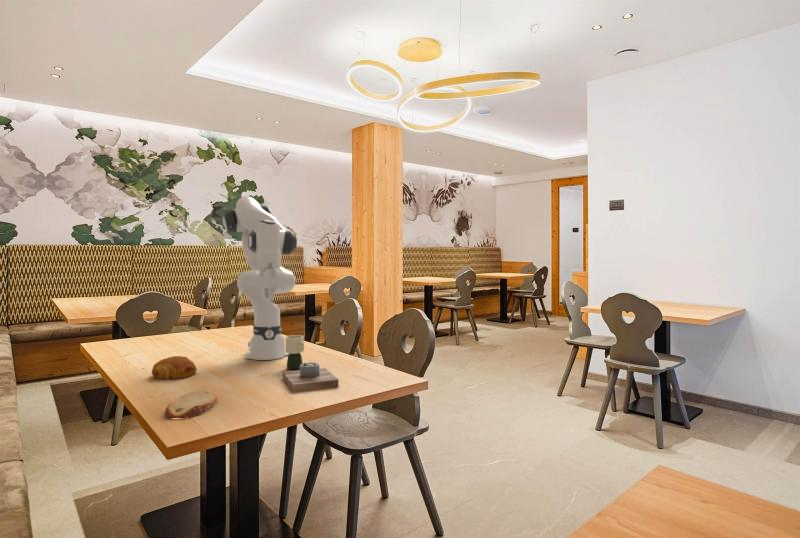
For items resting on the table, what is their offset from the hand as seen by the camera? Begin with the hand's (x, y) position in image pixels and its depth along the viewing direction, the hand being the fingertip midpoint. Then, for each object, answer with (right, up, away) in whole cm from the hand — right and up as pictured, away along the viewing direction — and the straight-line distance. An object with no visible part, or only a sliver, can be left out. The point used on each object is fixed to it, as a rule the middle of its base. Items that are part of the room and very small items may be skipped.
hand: (269, 299), depth 179 cm
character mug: (+7, -29, +12) cm, 32 cm away
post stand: (+17, -30, -8) cm, 35 cm away
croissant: (-36, -29, +1) cm, 47 cm away
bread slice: (-14, -31, -34) cm, 49 cm away
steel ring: (+17, -27, -8) cm, 33 cm away
